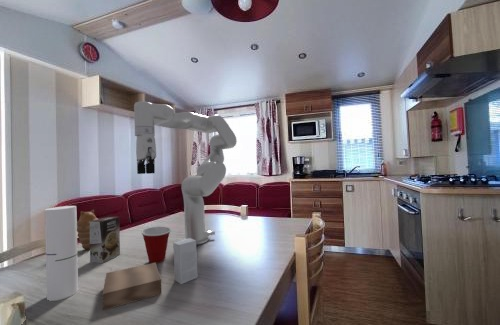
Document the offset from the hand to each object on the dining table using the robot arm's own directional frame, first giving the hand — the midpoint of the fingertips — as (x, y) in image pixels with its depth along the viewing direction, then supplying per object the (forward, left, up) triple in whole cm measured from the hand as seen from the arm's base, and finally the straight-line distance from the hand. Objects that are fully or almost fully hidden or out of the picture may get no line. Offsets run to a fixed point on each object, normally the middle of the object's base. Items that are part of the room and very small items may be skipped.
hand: (145, 173), depth 95 cm
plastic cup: (-3, +7, -34) cm, 35 cm away
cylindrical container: (+24, +18, -34) cm, 45 cm away
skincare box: (-9, +29, -34) cm, 45 cm away
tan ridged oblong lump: (+23, -26, -34) cm, 49 cm away
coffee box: (+15, -8, -34) cm, 38 cm away
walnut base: (+6, +27, -34) cm, 44 cm away
